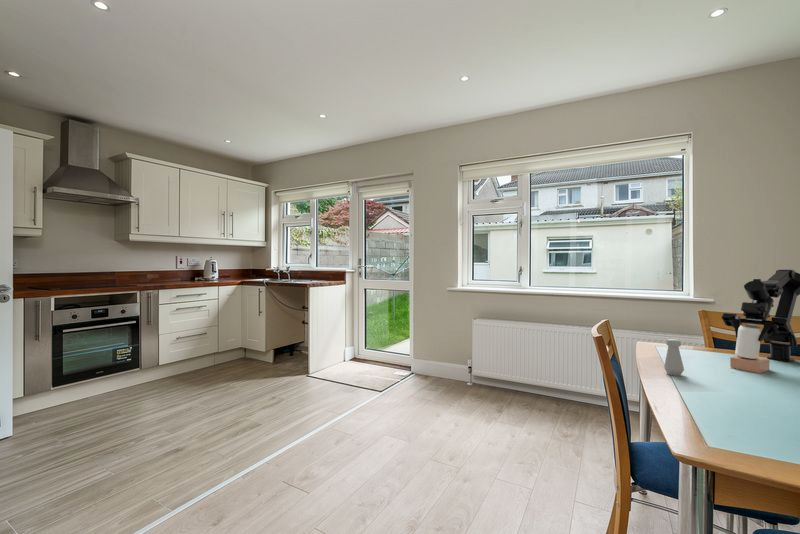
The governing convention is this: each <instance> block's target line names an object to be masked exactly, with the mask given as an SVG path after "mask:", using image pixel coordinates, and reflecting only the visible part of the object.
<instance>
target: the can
mask: <svg viewBox="0 0 800 534" xmlns="http://www.w3.org/2000/svg"><path fill="white" fill-rule="evenodd" d="M761 332H762V330H761V327H760V326H758V325H752V324H745V323H742V324H741V325H740V327H739V328H738V334H737V338H736V344H735V352H734V353H735V356H740V357H743V358H748V359H757V358H760V357H759V356H760V350H761V349H760V348H761V342H760V341H759V340H758V339H759V336H760V334H761Z"/></svg>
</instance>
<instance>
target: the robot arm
mask: <svg viewBox="0 0 800 534" xmlns="http://www.w3.org/2000/svg"><path fill="white" fill-rule="evenodd" d="M743 288H744V290H745V291H746V294H747V296H748V298H749V299H750V300H752V301H751V302H746V301H744V302H742V303H741V308H740V311H742V312H743V313H742V315H743V316H744V317H742V316H741V317H740V316H738V315H737V313H733V312H723V313H722V315H721V319H722V321H723V323H724V324H725V326H727V327H733V329H734V331H735V338H736V339H737V334H738V328H739V327H740V325H742V324H747V325H752V326H763V328H762V330H761V334H760V336H759V339H758V340H759V341H760V343H761V342H762V341H763V343H764V344H769V347H770V355H769V356H766V359H769V360H776V361H780V362H781V361H783V362H792V361H794V360H795V358H793V357H791V348H793V347H794V348H795V347H796V348H797V347H798V339H797V337H796V335H795V334H794V330H793V329H792V326H791V321H792V316H793V313H794V308H795V305H796V301H797V298H798V296H800V273H798V272H796V270H794V269H777V270H775V273H774V274H772V276H770V278H768V279H767V280H762V279H761V278H753V280H751V281H747V282H746V283H744V285H743ZM773 298H779V300H778V304H777V307H776V311H775V315H774V316H772V317H771V319H770V320H768V319H769V318H770V316H771V315H770V312H771V310H772V308H773V307H774V299H773Z"/></svg>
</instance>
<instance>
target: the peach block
mask: <svg viewBox="0 0 800 534" xmlns="http://www.w3.org/2000/svg"><path fill="white" fill-rule="evenodd" d="M729 359H730V361H729V363H730V364H729V365H730V367H731V368H732V369H735V368H736V370H740V369H741V370H740V371H745V370H746V372H751V373H757V374H762V373H764V372H765V373H766V372H768V371H770V369H771V368H770V359H769V358H761V357H758V358H757V359H748V358H743V357H740V356H737V355H734V356H730V357H729ZM731 368H730V369H731Z"/></svg>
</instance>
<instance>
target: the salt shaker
mask: <svg viewBox="0 0 800 534" xmlns="http://www.w3.org/2000/svg"><path fill="white" fill-rule="evenodd" d="M665 343H666V345H667V351H666V355H665V361H664V366H663V368H664V370H665V372H666V374H668V375H669V376H673V375H674V377H681V375H682V374H683V372H684V371H685V368H684V364H683V360H682V355H681V353H680V347H681V345H682V341H680V340H679V339H676V338H667V340H666V341H665Z"/></svg>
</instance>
